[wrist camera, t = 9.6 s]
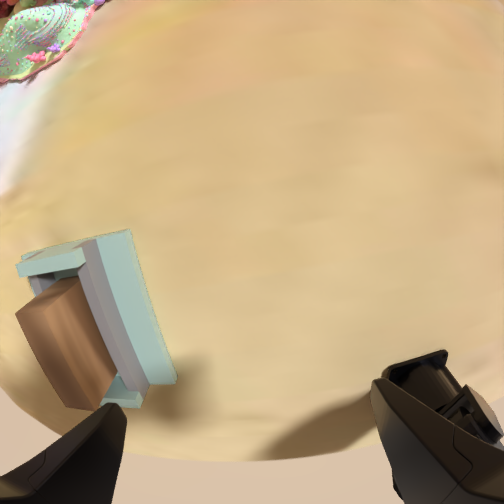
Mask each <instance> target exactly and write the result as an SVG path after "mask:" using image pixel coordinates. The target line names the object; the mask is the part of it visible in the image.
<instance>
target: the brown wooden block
mask: <svg viewBox="0 0 504 504" xmlns="http://www.w3.org/2000/svg"><path fill="white" fill-rule="evenodd" d="M15 315H16V317H17V319H18V322H19V324H20V326H21V328H22V330H23V332H24V335H25V337H26V339H27V341H28V343H29V345H30V347H31V349H32V351H33V353H34V354H35V356H36V358H37V360H38V362H39V364H40V365H41V367H42V369H43V371H44V373H45V374H46V376H47V378H48V379H49V381H50V383H51V384H52V386H53V388H54V389H55V391H56V392H57V394H58V395H59V397H60V399H61V400H62V402H63V403H64V405H65V406H66V407H69V408H76V409H83V410H90V411H96V410H97V409H98V407H99V405H100V403H101V401H102V399H103V397H104V396H105V394H106V392H107V390H108V388H109V387H110V385H111V383H112V381H113V379H114V378H115V376H116V374H117V372H118V370H117V368H116V366H115V364H114V362H113V360H112V358H111V356H110V354H109V351H108V349H107V347H106V345H105V343H104V340H103V338H102V336H101V333H100V331H99V329H98V326H97V324H96V321H95V319H94V316H93V314H92V311H91V309H90V306H89V304H88V301H87V298H86V296H85V293H84V290H83V287H82V284H81V281H80V278H79V275H78V276H72V277H66V278H60V279H59V280H58V281H56V282H55V283H54V284H52V285H51V286H50V287H48V288H47V289H46V290H44V291H43V292H42V293H40V294H39V295H38V296H36V297H35V298H34V299H33V300H31V301H30V302H29V303H27V304H26V305H25V306H24V307H22V308H21V309H20V310H19V311H17V312H16V313H15Z"/></svg>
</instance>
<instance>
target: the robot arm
mask: <svg viewBox="0 0 504 504" xmlns="http://www.w3.org/2000/svg"><path fill="white" fill-rule="evenodd" d="M447 357H448V352H447V351H446V350H445V349H444V350H441V351H438V352H435V353H432V354H429V355H426V356H423V357H420V358H416V359H413V360H410V361H406V362H403V363H399V364H396V365H393V366H391V367H390V368H389V370H388V376H387V379H386V378H384V377H382V378H378V379H374V380H373V381H372V386H371V394H370V401H371V405H372V409H373V413H374V416H375V420H376V424H377V428H378V432H379V436H380V439H381V442H382V445H383V447H384V449H385V452H386V455H387V457H388V460H389V462H390V465H391V468H392V477H393V488H394V490H395V491H396V492H397V494H398V496H399V497H400V498H401V499H402V500H403V501H404V503H405V504H504V446H503V445H502V443H501V442H500V439H501V438H502V437H503V436H504V433H503V431H502V429H501V426H500V424H499V422H498V420H497V417H496V415H495V413H494V411H493V410H492V409H491V407H490V406H489V405H488V404H487V402H486V401H485V400H484V398H483V397H482V396H481V395H479V394H478V393H477V392H476V391H474V390H473V389H472V388H471V387H469V386H468V385H467V384H466V385H465V386H464V387H463V388H462V387H461V386H460V385H459V383H458V382H457V380H456V379H455V378H454V376H453V375H452V374H451V372H450V371H449V370H448V369H447V367H446V366H445V365H446V361H447ZM126 426H127V418H126V416H125V414H124V413H123V411H122V409H121V408H120V406H119V405H118V404H117V403H113V402H107V403H105V404H104V405H103V406H102V407H100V408H99V409H98V410H96V411H95V412H94V413H93V414H91V415H90V416H89V417H87V418H86V419H85V420H83V421H82V422H81V423H79V424H78V425H77V426H75V427H74V428H73V429H72V430H70V431H69V432H68V433H66V434H65V435H64V436H62V437H61V438H60V439H58V440H57V441H56V442H54V443H53V444H51V445H50V446H49V447H47V448H46V449H45V450H43V451H42V452H41V453H39V454H38V455H36V456H35V457H33V458H32V459H30V460H29V461H27V462H26V463H24V464H22V465H21V466H19V467H17V468H15V469H14V470H12V471H10V472H8V473H7V474H5V475H3V476H0V504H111V503H112V498H113V494H114V489H115V484H116V480H117V476H118V471H119V467H120V463H121V459H122V454H123V448H124V440H125V433H126Z"/></svg>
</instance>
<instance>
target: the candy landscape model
mask: <svg viewBox="0 0 504 504" xmlns="http://www.w3.org/2000/svg"><path fill="white" fill-rule="evenodd" d="M104 2H105V0H0V82H6V81H8V80H9V79H11V80H16V79H18V80H23V79H25V78H27V77H29V76H30V75H32V74H34V73H36V72H37V71H39V70H41V69H42V68H44V67H46V66H48V65H49V64H51V63H53V62H55V61H57V60H59V59H61V58H62V57H63V56H64V55H65V53H66V52H67V51H68V50H69V49H70V48H72V47H73V46H74V45H75V44H76V42H77V41H78V39H79V38H80V37H81V35H82V34H83V33H84V31H85V30H86V28H87V24H88V22H89V20H90V19H91V17H92V16H93V14H94V11H95V10H96V8H97V7H98V6H99V5H102V4H103V3H104Z"/></svg>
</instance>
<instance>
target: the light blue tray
mask: <svg viewBox="0 0 504 504" xmlns="http://www.w3.org/2000/svg"><path fill="white" fill-rule="evenodd" d="M21 257H22V261H21V262H19V263H18V264H16V268H17V271H18V274H19V277H20V278H21V277H26V276H28V279H29V282H30V284H31V287H32V290H33V293H34V295H35V297H36V296H38V295H39V294H40V293H42V292H43V291H44V290H46V289H47V288H48V287H50V286H51V285H52V284H54V283H55V282H56V281H58V280H59V279H60V278H66V277H72V276H78V275H79V278H80V281H81V284H82V287H83V290H84V293H85V296H86V298H87V301H88V304H89V306H90V309H91V311H92V314H93V316H94V319H95V321H96V324H97V326H98V329H99V331H100V333H101V336H102V338H103V340H104V343H105V345H106V347H107V349H108V351H109V354H110V356H111V358H112V360H113V362H114V364H115V366H116V368H117V370H118V372H117V374H116V376H115V378H114V379H113V381H112V383H111V385H110V387H109V388H108V390H107V392H106V394H105V396H104V397H103V399H102V401H101V403H100V406H103V405H104V404H105V403H107V402H113V403H117V404H118V405H119V406H120V407H124V408H140V407H141V405H142V402H143V400H144V398H145V395H146V393H147V390H148V388H149V385H150V384H176V381H177V378H178V376H177V373H176V371H175V368H174V366H173V363H172V361H171V358H170V355H169V353H168V350H167V347H166V345H165V342H164V339H163V336H162V334H161V331H160V328H159V325H158V322H157V319H156V316H155V313H154V310H153V307H152V304H151V301H150V298H149V295H148V291H147V288H146V285H145V282H144V278H143V275H142V271H141V268H140V264H139V261H138V257H137V253H136V250H135V246H134V242H133V238H132V234H131V230H130V229H127V230H123V231H118V232H113V233H109V234H104V235H99V236H95V237H91V238H86V239H82V240H77V241H73V242H69V243H65V244H61V245H56V246H52V247H48V248H44V249H40V250H36V251H32V252H28V253H26V254H25V255H23V256H21Z"/></svg>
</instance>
